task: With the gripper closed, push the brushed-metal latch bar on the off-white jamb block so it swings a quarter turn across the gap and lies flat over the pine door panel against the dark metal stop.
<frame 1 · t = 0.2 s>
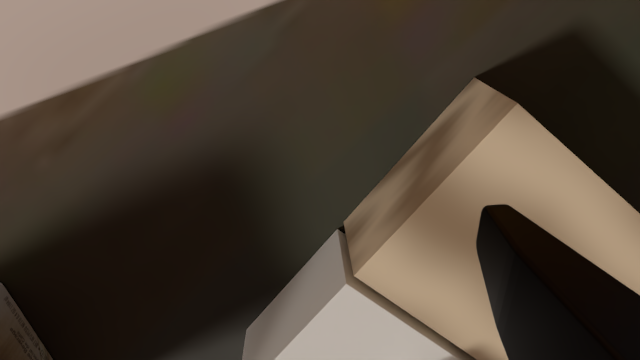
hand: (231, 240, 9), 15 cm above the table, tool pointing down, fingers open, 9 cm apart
door panel: (552, 270, 28), on the table
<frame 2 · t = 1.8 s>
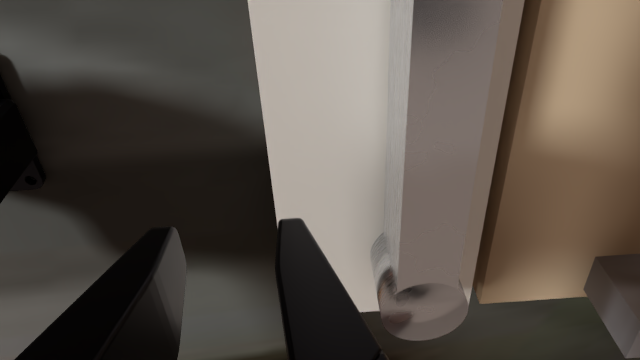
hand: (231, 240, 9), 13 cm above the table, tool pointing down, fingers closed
latch bar: (427, 155, 15), point 7 cm above the table, hinge at 90.0°
door panel: (598, 13, 20), on the table
jamb: (366, 28, 20), on the table
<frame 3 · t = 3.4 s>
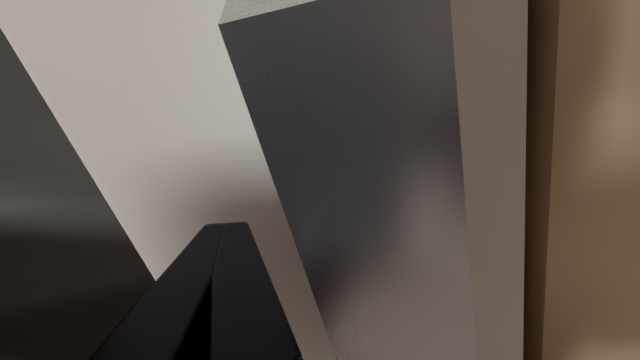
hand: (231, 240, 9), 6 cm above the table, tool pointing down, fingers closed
latch bar: (403, 342, 10), point 7 cm above the table, hinge at 90.0°, touching gripper
jamb: (317, 109, 14), on the table
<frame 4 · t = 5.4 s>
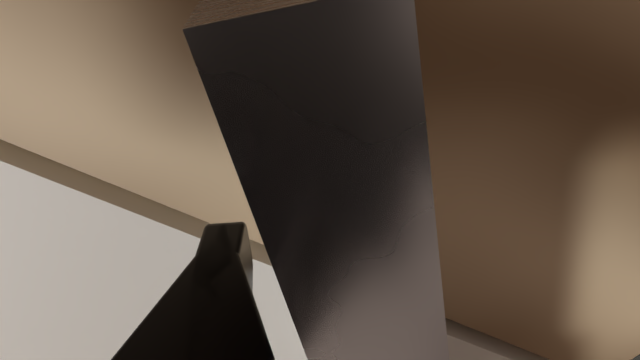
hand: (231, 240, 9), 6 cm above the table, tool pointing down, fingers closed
latch bar: (384, 345, 10), point 7 cm above the table, hinge at 41.5°, touching gripper
jamb: (192, 214, 17), on the table
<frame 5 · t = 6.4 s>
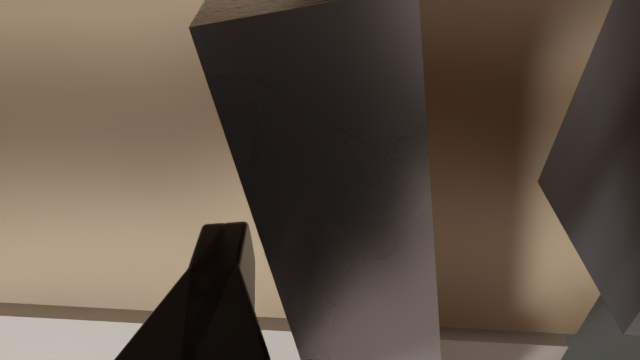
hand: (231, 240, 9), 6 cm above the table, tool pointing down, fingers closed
latch bar: (376, 347, 10), point 7 cm above the table, hinge at 14.6°, touching gripper
door panel: (157, 37, 13), on the table
jamb: (184, 280, 19), on the table
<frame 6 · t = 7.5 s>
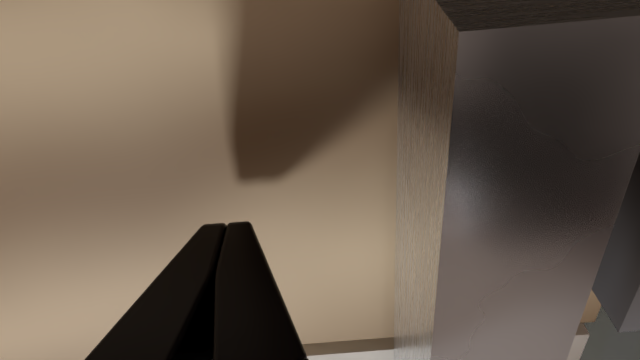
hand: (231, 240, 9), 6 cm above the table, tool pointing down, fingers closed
latch bar: (459, 355, 10), point 7 cm above the table, hinge at 0.8°
door panel: (145, 90, 14), on the table
jamb: (210, 312, 19), on the table
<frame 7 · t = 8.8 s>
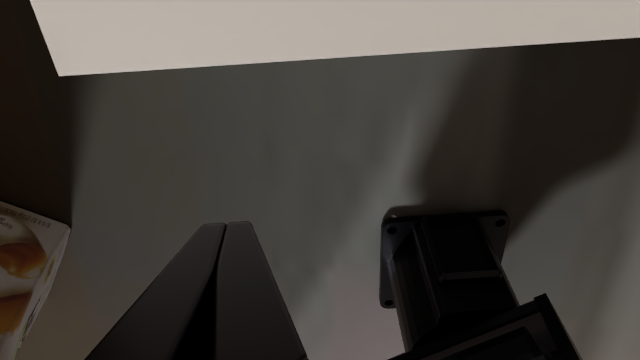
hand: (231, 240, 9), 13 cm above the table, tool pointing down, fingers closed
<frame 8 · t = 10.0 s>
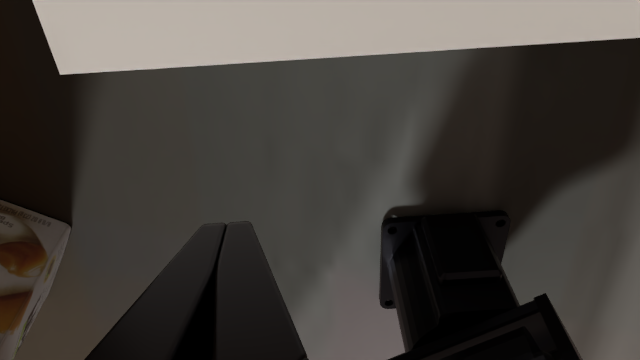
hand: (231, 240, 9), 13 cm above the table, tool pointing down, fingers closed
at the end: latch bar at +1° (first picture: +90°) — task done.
